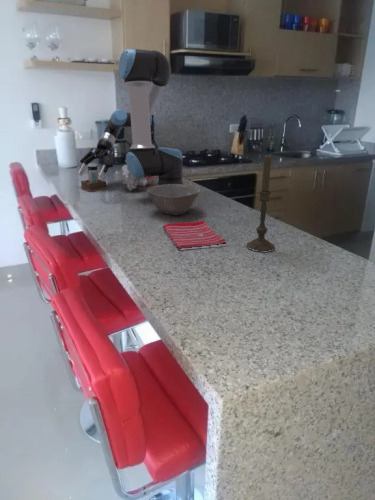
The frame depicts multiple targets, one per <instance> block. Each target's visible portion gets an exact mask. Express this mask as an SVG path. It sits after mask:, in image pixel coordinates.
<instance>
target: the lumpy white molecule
mask: <svg viewBox="0 0 375 500" xmlns="http://www.w3.org/2000/svg"><path fill="white" fill-rule="evenodd" d="M124 162H125V163H126V159H125V160H124ZM121 176H122V177H121V178H122V184H123V185H126V187H127V190H129V192H131V191H134V190H135V189H137V186H140V187H146V185H148V186H149V187H152V186H153V184H154V180H153V179H157V178H158V176H151V177H144V178H141V177H139V178H135V177H133V176H132V175H131V174H130V172H129V170H128V167H127V164H124V165H123V166H122V167H121ZM149 179H151V180H150V181H149ZM150 182H151V184H148V183H150Z"/></svg>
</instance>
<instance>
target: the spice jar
mask: <svg viewBox="0 0 375 500" xmlns="http://www.w3.org/2000/svg"><path fill="white" fill-rule="evenodd" d="M87 172H88V173H87V174H88V180H89V183H95V182H98V179H99V173H98V164H97V163H94V162H90V163H89V164H87Z"/></svg>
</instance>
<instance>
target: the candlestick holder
mask: <svg viewBox="0 0 375 500" xmlns="http://www.w3.org/2000/svg"><path fill="white" fill-rule="evenodd" d="M262 168H263V169H262V181H261V189H260V190H258V194H259V197H258V200H259V201H260V202H261V204H260V208H259V210H260V218H259V221H260V223H259V225H258V226H257V227H256V228H255V229H256V233H257V234H258V236H257V238H255V239H252V240H251V241H248V242H247V243H246V245H247V246H246V248H247V247H249V248H251V249H254V250H258V251H269V250H272V249H274V248H275V249H276V247H275V244H273V243H272V242H270V241H269V240H268V239H266V238H265V235H266V234H267V231H268V228H267V227H266V224H265V221H266V214H267V211H268V208H267V207H268V205H267V202H269V201H270V198H271V197H270V195H271V194H272V191H271V190H270V181H271V180H270V178H271V168H272V155H264V157H263V167H262ZM275 249H274V250H275ZM272 251H273V250H272Z"/></svg>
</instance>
